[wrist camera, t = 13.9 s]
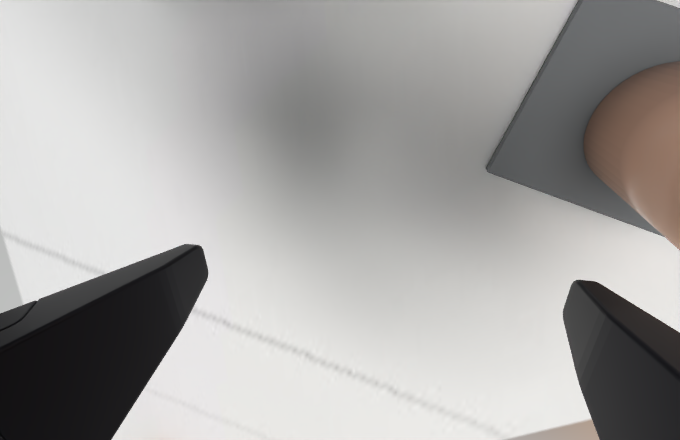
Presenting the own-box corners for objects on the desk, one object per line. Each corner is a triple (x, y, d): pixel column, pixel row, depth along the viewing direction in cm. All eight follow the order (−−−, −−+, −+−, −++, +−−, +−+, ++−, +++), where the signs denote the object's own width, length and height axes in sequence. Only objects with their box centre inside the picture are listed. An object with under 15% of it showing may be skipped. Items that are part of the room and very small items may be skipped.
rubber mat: (486, 168, 20) (487, 172, 19) (589, -20, 16) (595, -21, 15) (697, 245, 20) (704, 251, 19) (866, 76, 15) (882, 78, 15)
